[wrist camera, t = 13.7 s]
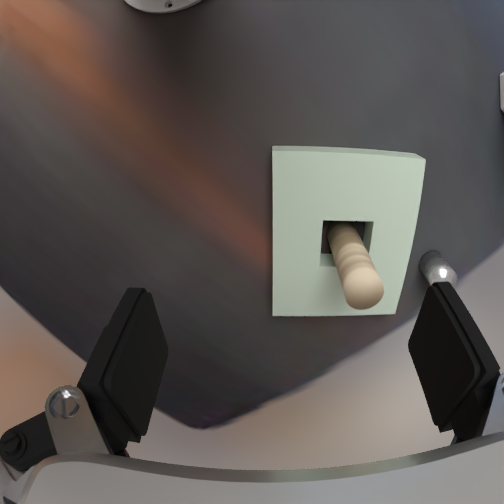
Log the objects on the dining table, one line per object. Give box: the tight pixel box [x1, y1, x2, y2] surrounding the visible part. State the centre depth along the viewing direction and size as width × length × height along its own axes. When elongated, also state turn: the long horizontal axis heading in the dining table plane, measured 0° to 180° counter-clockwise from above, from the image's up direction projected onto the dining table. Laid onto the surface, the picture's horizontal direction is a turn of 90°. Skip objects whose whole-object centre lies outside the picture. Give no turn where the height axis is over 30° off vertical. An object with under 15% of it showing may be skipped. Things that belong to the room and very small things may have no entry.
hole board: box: [272, 146, 426, 316], centre depth 35 cm, size 20×16×3 cm
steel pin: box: [419, 250, 457, 288], centre depth 35 cm, size 4×4×5 cm
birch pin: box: [327, 221, 384, 310], centre depth 31 cm, size 4×4×12 cm
